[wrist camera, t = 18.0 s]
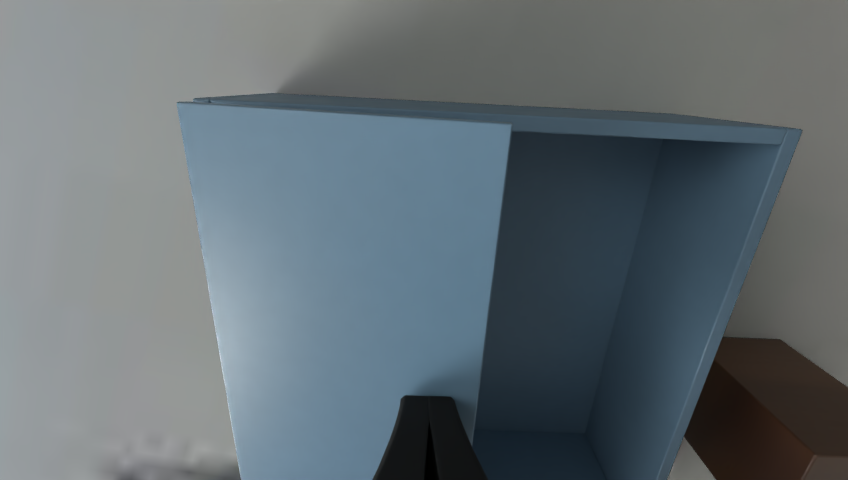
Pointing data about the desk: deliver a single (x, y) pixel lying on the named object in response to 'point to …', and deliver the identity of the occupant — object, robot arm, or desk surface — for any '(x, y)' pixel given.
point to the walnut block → (770, 415)
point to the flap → (343, 273)
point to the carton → (604, 276)
